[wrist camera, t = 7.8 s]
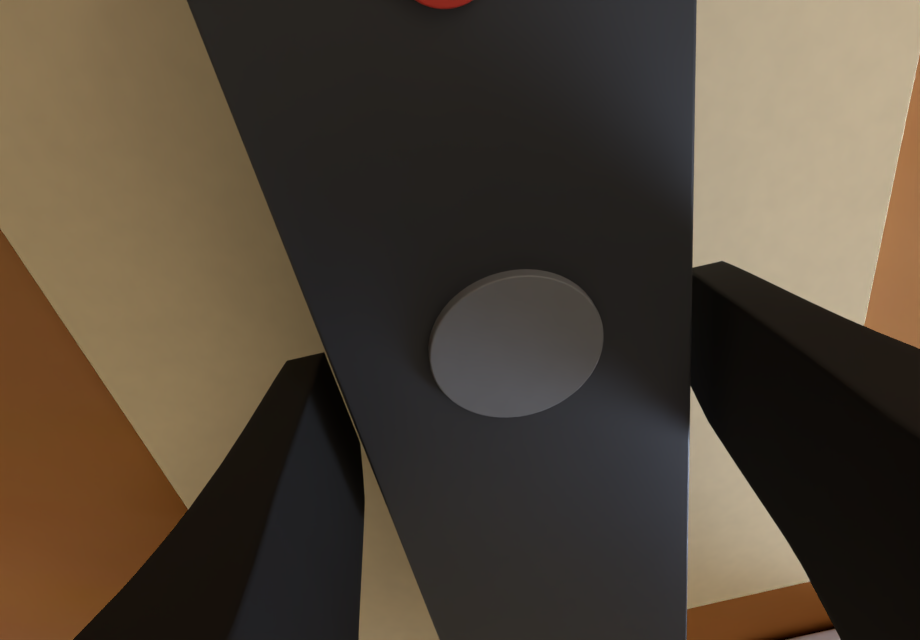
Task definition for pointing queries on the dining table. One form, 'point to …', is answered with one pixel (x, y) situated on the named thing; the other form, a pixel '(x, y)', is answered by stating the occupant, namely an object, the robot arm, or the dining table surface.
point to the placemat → (276, 287)
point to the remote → (495, 282)
